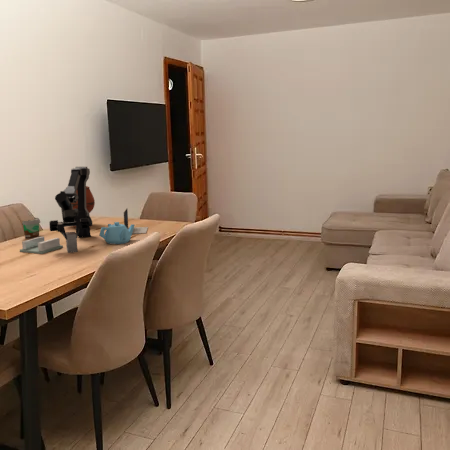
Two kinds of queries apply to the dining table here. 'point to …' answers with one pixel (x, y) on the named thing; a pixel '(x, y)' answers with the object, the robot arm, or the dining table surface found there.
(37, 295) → the dining table surface
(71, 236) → the steel block
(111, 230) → the teapot
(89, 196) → the brown clay vase
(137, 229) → the laptop
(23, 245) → the block
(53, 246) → the vise
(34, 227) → the food container
